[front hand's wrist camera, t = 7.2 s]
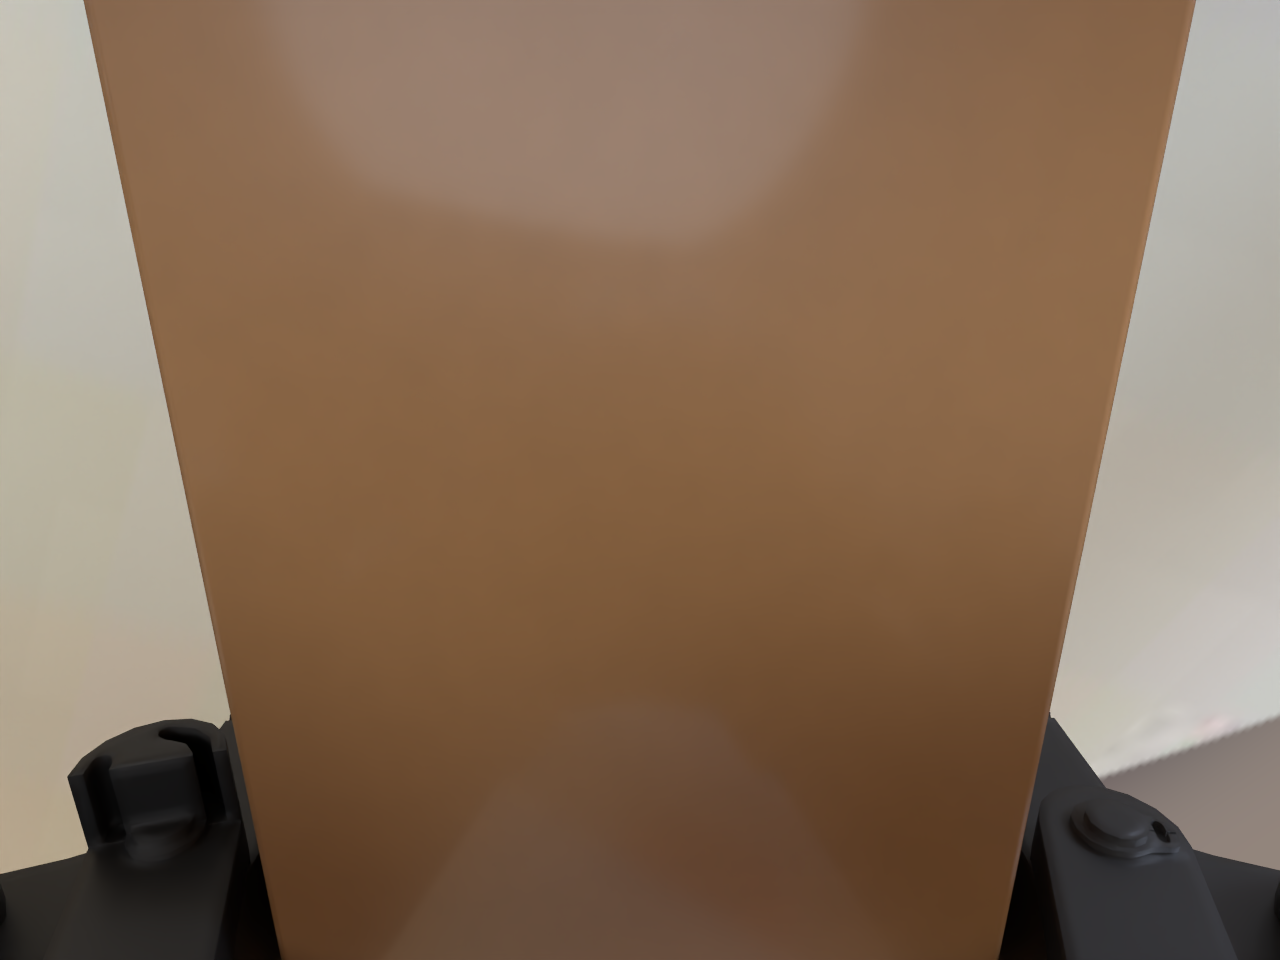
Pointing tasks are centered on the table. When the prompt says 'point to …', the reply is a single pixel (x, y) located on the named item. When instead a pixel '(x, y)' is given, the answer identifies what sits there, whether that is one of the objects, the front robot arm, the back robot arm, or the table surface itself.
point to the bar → (639, 445)
